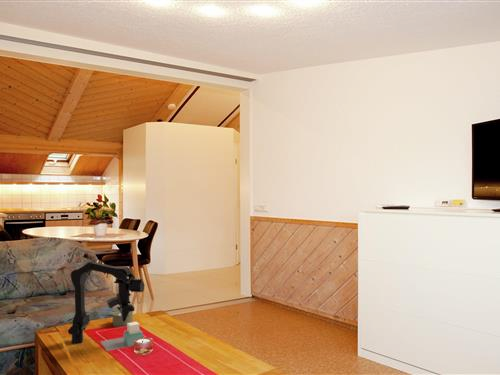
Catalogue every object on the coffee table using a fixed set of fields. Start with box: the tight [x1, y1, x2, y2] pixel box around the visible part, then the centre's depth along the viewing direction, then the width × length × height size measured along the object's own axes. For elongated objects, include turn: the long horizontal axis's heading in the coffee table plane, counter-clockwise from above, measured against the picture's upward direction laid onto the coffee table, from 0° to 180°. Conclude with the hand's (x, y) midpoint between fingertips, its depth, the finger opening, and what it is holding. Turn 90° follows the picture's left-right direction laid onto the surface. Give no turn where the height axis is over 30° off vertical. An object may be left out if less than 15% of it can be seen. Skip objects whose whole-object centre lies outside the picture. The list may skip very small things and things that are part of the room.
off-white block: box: [126, 321, 140, 334], centre depth 233 cm, size 5×5×5 cm
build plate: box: [100, 328, 144, 352], centre depth 233 cm, size 16×19×7 cm
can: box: [111, 310, 134, 328], centre depth 269 cm, size 12×12×7 cm
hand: (123, 321), depth 232 cm, fingers closed
